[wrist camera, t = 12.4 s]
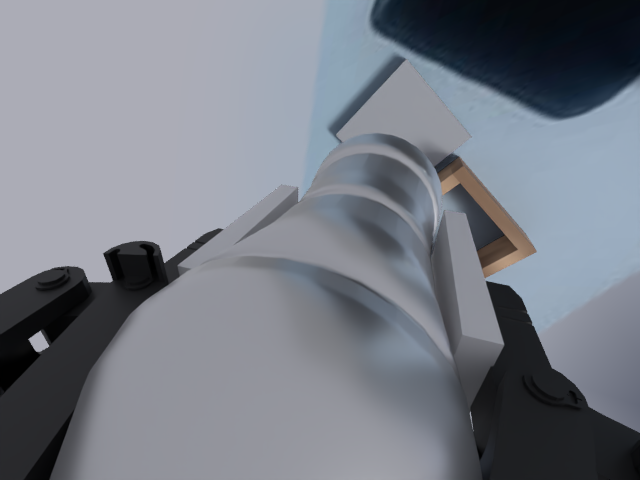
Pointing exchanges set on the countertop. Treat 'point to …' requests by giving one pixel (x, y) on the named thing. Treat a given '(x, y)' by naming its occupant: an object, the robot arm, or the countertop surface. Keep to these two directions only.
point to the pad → (409, 116)
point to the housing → (514, 240)
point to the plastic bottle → (292, 348)
